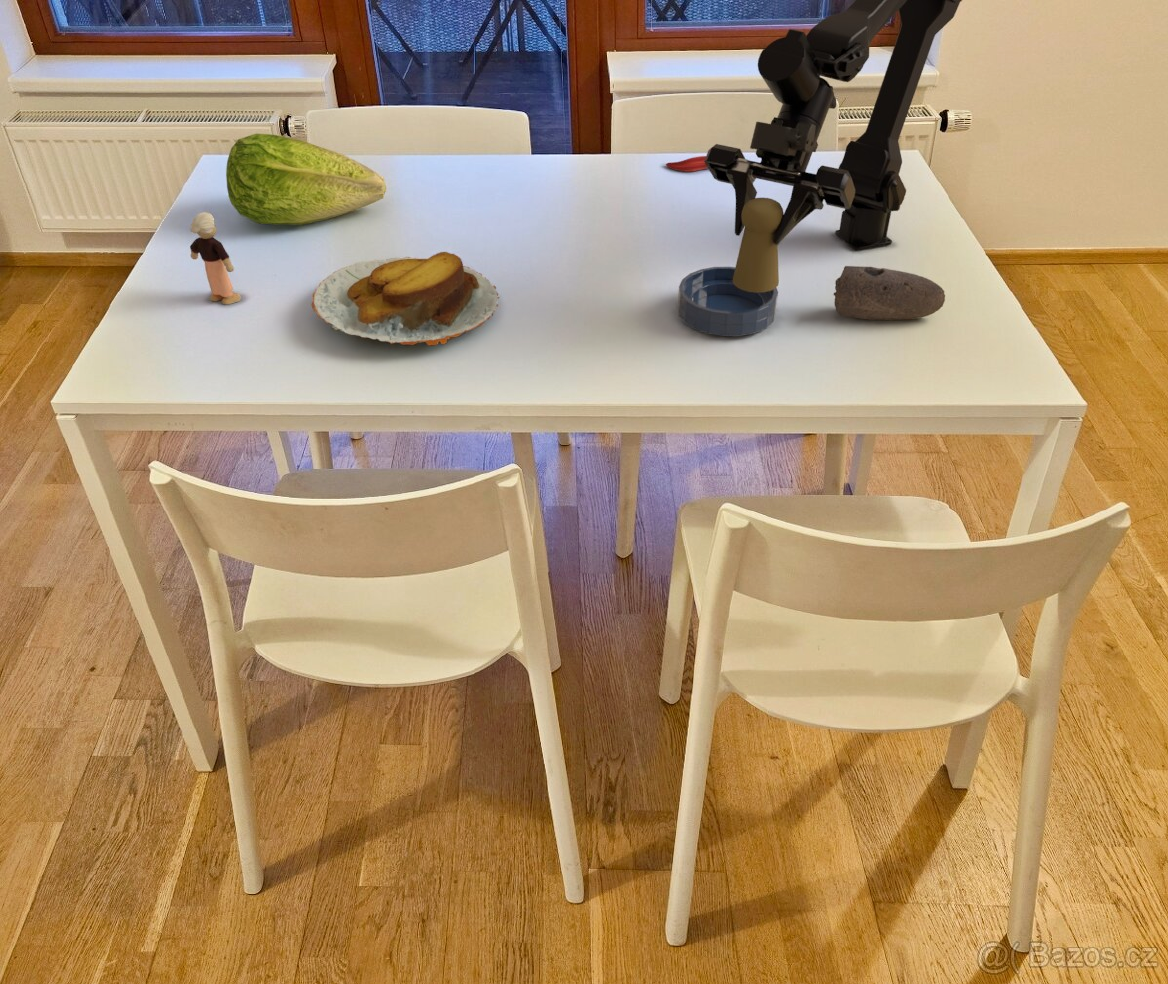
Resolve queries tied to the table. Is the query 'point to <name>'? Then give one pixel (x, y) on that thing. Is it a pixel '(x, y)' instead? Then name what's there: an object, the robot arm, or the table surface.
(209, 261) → the grandmother figurine
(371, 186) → the lettuce
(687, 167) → the cayenne pepper
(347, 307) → the food on plate
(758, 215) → the yellow pawn piece
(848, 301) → the perforated stone tool
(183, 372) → the table surface
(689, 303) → the bowl
